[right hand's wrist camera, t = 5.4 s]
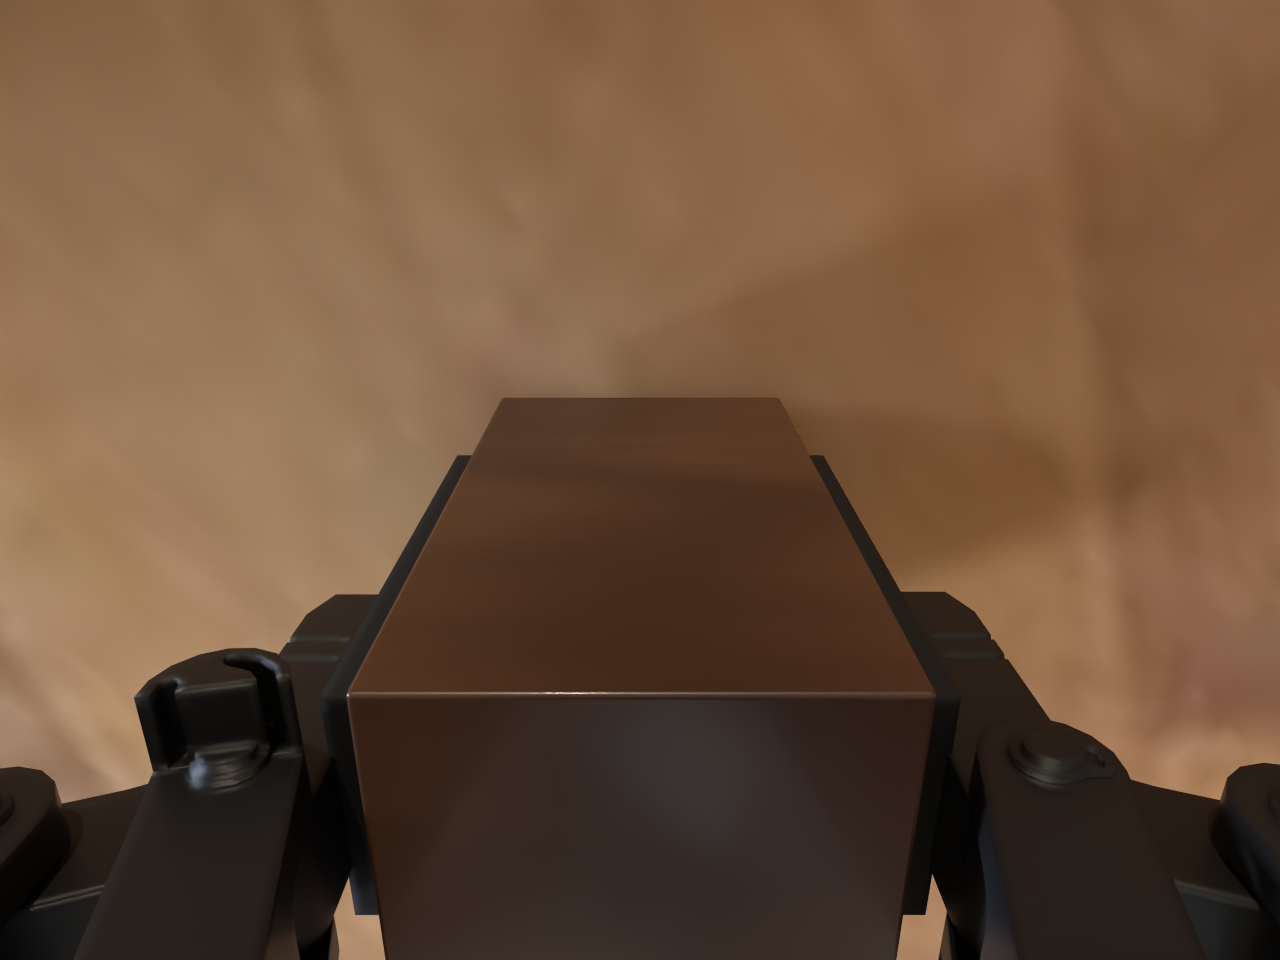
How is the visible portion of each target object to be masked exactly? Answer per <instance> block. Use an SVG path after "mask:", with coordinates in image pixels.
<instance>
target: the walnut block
mask: <svg viewBox="0 0 1280 960" xmlns="http://www.w3.org/2000/svg"><path fill="white" fill-rule="evenodd" d="M346 699H347V706H348V712H349V719H350V726H351V732H352V739H353V746H354V752H355V759H356V766H357V772H358V779H359V785H360V792H361V799H362V805H363V812H364V819H365V825H366V832H367V839H368V845H369V852H370V859H371V865H372V872H373V879H374V885H375V892H376V899H377V905H378V912H379V919H380V925H381V932H382V939H383V945H384V952H385V958H386V960H896V958H897V951H898V944H899V938H900V931H901V925H902V918H903V912H904V905H905V898H906V892H907V885H908V879H909V872H910V865H911V859H912V852H913V846H914V839H915V833H916V826H917V819H918V813H919V806H920V800H921V793H922V787H923V780H924V773H925V767H926V760H927V754H928V747H929V741H930V734H931V727H932V721H933V714H934V708H935V701H936V693H935V691H934V689H933V687H932V685H931V683H930V681H929V680H928V678H927V676H926V674H925V672H924V670H923V668H922V666H921V665H920V663H919V661H918V659H917V657H916V655H915V653H914V651H913V650H912V648H911V646H910V644H909V642H908V640H907V638H906V636H905V634H904V633H903V631H902V629H901V627H900V625H899V623H898V621H897V619H896V618H895V616H894V614H893V612H892V610H891V608H890V606H889V604H888V603H887V601H886V599H885V597H884V595H883V593H882V591H881V589H880V588H879V586H878V584H877V582H876V580H875V578H874V576H873V574H872V572H871V571H870V569H869V567H868V565H867V563H866V561H865V559H864V557H863V556H862V554H861V552H860V550H859V548H858V546H857V544H856V542H855V541H854V539H853V537H852V535H851V533H850V531H849V529H848V527H847V526H846V524H845V522H844V520H843V518H842V516H841V514H840V512H839V510H838V509H837V507H836V505H835V503H834V501H833V499H832V497H831V495H830V494H829V492H828V490H827V488H826V486H825V484H824V482H823V480H822V479H821V477H820V475H819V473H818V471H817V469H816V467H815V465H814V464H813V462H812V460H811V458H810V456H809V454H808V452H807V450H806V449H805V447H804V445H803V443H802V441H801V439H800V437H799V435H798V433H797V432H796V430H795V428H794V426H793V424H792V422H791V420H790V418H789V417H788V415H787V413H786V411H785V409H784V407H783V405H782V403H781V402H780V400H779V399H778V398H503V399H502V400H501V402H500V404H499V405H498V407H497V409H496V411H495V413H494V415H493V417H492V419H491V421H490V423H489V424H488V426H487V428H486V430H485V432H484V434H483V436H482V438H481V440H480V441H479V443H478V445H477V447H476V449H475V451H474V453H473V455H472V457H471V458H470V460H469V462H468V464H467V466H466V468H465V470H464V472H463V474H462V476H461V477H460V479H459V481H458V483H457V485H456V487H455V489H454V491H453V493H452V494H451V496H450V498H449V500H448V502H447V504H446V506H445V508H444V510H443V511H442V513H441V515H440V517H439V519H438V521H437V523H436V525H435V527H434V529H433V530H432V532H431V534H430V536H429V538H428V540H427V542H426V544H425V546H424V547H423V549H422V551H421V553H420V555H419V557H418V559H417V561H416V563H415V564H414V566H413V568H412V570H411V572H410V574H409V576H408V578H407V580H406V582H405V583H404V585H403V587H402V589H401V591H400V593H399V595H398V597H397V599H396V600H395V602H394V604H393V606H392V608H391V610H390V612H389V614H388V616H387V617H386V619H385V621H384V623H383V625H382V627H381V629H380V631H379V633H378V635H377V636H376V638H375V640H374V642H373V644H372V646H371V648H370V650H369V652H368V653H367V655H366V657H365V659H364V661H363V663H362V665H361V667H360V669H359V670H358V672H357V674H356V676H355V678H354V680H353V682H352V684H351V686H350V688H349V689H348V691H347V694H346Z"/></svg>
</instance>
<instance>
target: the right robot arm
mask: <svg viewBox="0 0 1280 960" xmlns="http://www.w3.org/2000/svg"><path fill="white" fill-rule="evenodd" d="M809 456H810V458H811V460H812V462H813V464H814V465H815V467H816V469H817V471H818V473H819V475H820V477H821V479H822V480H823V482H824V484H825V486H826V488H827V490H828V492H829V494H830V495H831V497H832V499H833V501H834V503H835V505H836V507H837V509H838V510H839V512H840V514H841V516H842V518H843V520H844V522H845V524H846V526H847V527H848V529H849V531H850V533H851V535H852V537H853V539H854V541H855V542H856V544H857V546H858V548H859V550H860V552H861V554H862V556H863V557H864V559H865V561H866V563H867V565H868V567H869V569H870V571H871V572H872V574H873V576H874V578H875V580H876V582H877V584H878V586H879V588H880V589H881V591H882V593H883V595H884V597H885V599H886V601H887V603H888V604H889V606H890V608H891V610H892V612H893V614H894V616H895V618H896V619H897V621H898V623H899V625H900V627H901V629H902V631H903V633H904V634H905V636H906V638H907V640H908V642H909V644H910V646H911V648H912V650H913V651H914V653H915V655H916V657H917V659H918V661H919V663H920V665H921V666H922V668H923V670H924V672H925V674H926V676H927V678H928V680H929V681H930V683H931V685H932V687H933V689H934V691H935V693H936V701H935V708H934V714H933V721H932V727H931V734H930V741H929V747H928V754H927V760H926V767H925V773H924V780H923V787H922V793H921V800H920V806H919V813H918V819H917V826H916V833H915V839H914V846H913V852H912V859H911V865H910V872H909V879H908V885H907V892H906V898H905V905H904V912H903V915H925V914H926V908H927V902H928V896H929V890H930V884H931V878H932V874H933V877H934V879H935V882H936V884H937V887H938V889H939V892H940V894H941V897H942V899H943V902H944V904H945V907H946V909H947V914H946V920H945V925H944V931H943V936H942V942H941V948H940V953H939V959H938V960H1280V765H1278V764H1269V763H1260V764H1254V765H1248V766H1242V767H1239V768H1238V769H1237V770H1236V771H1235V772H1234V773H1232V774H1231V775H1230V776H1229V777H1228V778H1227V781H1226V784H1225V787H1224V790H1223V793H1222V796H1221V799H1220V800H1216V799H1211V798H1207V797H1202V796H1197V795H1193V794H1188V793H1183V792H1179V791H1174V790H1169V789H1164V788H1160V787H1155V786H1152V785H1148V784H1144V783H1141V782H1137V781H1134V780H1131V779H1130V777H1129V775H1128V772H1127V770H1126V769H1125V768H1124V766H1123V765H1122V764H1121V762H1120V761H1119V759H1118V758H1117V757H1116V755H1115V754H1114V752H1112V751H1111V750H1110V749H1108V748H1107V747H1106V746H1104V745H1103V744H1102V743H1100V742H1099V741H1098V740H1096V739H1095V738H1094V737H1092V736H1090V735H1088V734H1086V733H1084V732H1082V731H1079V730H1077V729H1075V728H1073V727H1070V726H1068V725H1066V724H1063V723H1059V722H1054V721H1051V720H1050V719H1049V717H1048V716H1047V715H1046V713H1045V712H1044V710H1043V709H1042V707H1041V706H1040V705H1039V703H1038V702H1037V700H1036V699H1035V697H1034V696H1033V695H1032V693H1031V692H1030V690H1029V689H1028V687H1027V686H1026V685H1025V683H1024V682H1023V680H1022V679H1021V677H1020V676H1019V675H1018V673H1017V672H1016V670H1015V669H1014V667H1013V666H1012V665H1011V663H1010V662H1009V660H1008V659H1005V658H1004V653H1003V652H1002V650H1001V649H1000V647H999V646H998V645H997V643H996V642H995V640H991V635H990V633H989V632H988V630H987V629H986V627H985V626H984V625H983V623H982V622H981V620H980V619H979V617H978V616H977V615H976V613H975V612H974V611H973V610H971V609H970V608H968V607H967V606H965V605H964V604H962V603H961V602H959V601H958V600H956V599H955V598H953V597H952V596H950V595H949V594H947V593H946V592H901V591H900V590H899V588H898V586H897V584H896V583H895V581H894V579H893V577H892V576H891V574H890V572H889V570H888V569H887V567H886V565H885V563H884V562H883V560H882V558H881V556H880V555H879V553H878V551H877V549H876V548H875V546H874V544H873V542H872V541H871V539H870V537H869V535H868V533H867V532H866V530H865V528H864V526H863V525H862V523H861V521H860V519H859V518H858V516H857V514H856V512H855V511H854V509H853V507H852V505H851V504H850V502H849V500H848V498H847V497H846V495H845V493H844V491H843V490H842V488H841V486H840V484H839V483H838V481H837V479H836V477H835V476H834V474H833V472H832V470H831V468H830V467H829V465H828V463H827V461H826V460H825V458H824V456H823V455H809ZM471 457H472V455H457V457H456V459H455V461H454V463H453V464H452V466H451V468H450V470H449V471H448V473H447V475H446V477H445V478H444V480H443V482H442V484H441V485H440V487H439V489H438V491H437V492H436V494H435V496H434V498H433V499H432V501H431V503H430V505H429V506H428V508H427V510H426V512H425V513H424V515H423V517H422V519H421V521H420V522H419V524H418V526H417V528H416V529H415V531H414V533H413V535H412V536H411V538H410V540H409V542H408V543H407V545H406V547H405V549H404V550H403V552H402V554H401V556H400V557H399V559H398V561H397V563H396V564H395V566H394V568H393V570H392V571H391V573H390V575H389V577H388V579H387V580H386V582H385V584H384V586H383V587H382V589H381V591H380V593H379V594H378V595H335V596H333V597H332V598H330V599H329V600H327V601H326V602H324V603H323V604H321V605H320V606H318V607H317V608H316V609H314V610H313V611H311V612H310V613H308V614H307V615H306V616H305V618H304V619H303V620H302V622H301V623H300V625H299V626H298V628H297V629H296V631H295V632H294V633H293V635H292V636H291V638H290V643H286V645H285V646H284V648H283V649H282V651H281V652H280V654H279V655H278V654H277V653H273V652H269V651H265V650H261V649H257V648H232V649H224V650H219V651H215V652H210V653H205V654H200V655H197V656H195V657H192V658H190V659H187V660H185V661H182V662H180V663H177V664H175V665H172V666H170V667H169V668H167V669H166V670H164V671H163V672H161V673H159V674H158V675H156V676H155V677H153V678H152V679H150V680H149V681H148V682H147V683H146V684H145V685H144V686H143V688H142V689H141V690H140V691H139V692H138V694H137V695H136V696H135V697H134V700H135V703H136V707H137V711H138V715H139V719H140V723H141V726H142V730H143V734H144V738H145V742H146V745H147V749H148V753H149V757H150V761H151V765H152V768H153V774H152V776H151V779H150V781H149V783H148V784H146V785H142V786H139V787H135V788H132V789H128V790H124V791H119V792H115V793H110V794H105V795H101V796H96V797H91V798H87V799H82V800H77V801H73V802H68V803H63V804H62V803H61V800H60V797H59V794H58V791H57V788H56V784H55V781H54V780H52V779H51V778H50V777H49V776H48V775H46V774H45V773H44V772H43V771H42V770H36V769H30V768H24V767H10V768H1V769H0V960H338V958H339V945H338V938H337V931H336V925H335V920H334V913H335V910H336V908H337V905H338V903H339V900H340V898H341V895H342V893H343V890H344V888H345V885H346V882H347V880H348V877H349V880H350V886H351V892H352V898H353V904H354V910H355V915H379V912H378V905H377V899H376V892H375V885H374V879H373V872H372V865H371V859H370V852H369V845H368V839H367V832H366V825H365V819H364V812H363V805H362V799H361V792H360V785H359V779H358V772H357V766H356V759H355V752H354V746H353V739H352V732H351V726H350V719H349V712H348V706H347V699H346V694H347V691H348V689H349V688H350V686H351V684H352V682H353V680H354V678H355V676H356V674H357V672H358V670H359V669H360V667H361V665H362V663H363V661H364V659H365V657H366V655H367V653H368V652H369V650H370V648H371V646H372V644H373V642H374V640H375V638H376V636H377V635H378V633H379V631H380V629H381V627H382V625H383V623H384V621H385V619H386V617H387V616H388V614H389V612H390V610H391V608H392V606H393V604H394V602H395V600H396V599H397V597H398V595H399V593H400V591H401V589H402V587H403V585H404V583H405V582H406V580H407V578H408V576H409V574H410V572H411V570H412V568H413V566H414V564H415V563H416V561H417V559H418V557H419V555H420V553H421V551H422V549H423V547H424V546H425V544H426V542H427V540H428V538H429V536H430V534H431V532H432V530H433V529H434V527H435V525H436V523H437V521H438V519H439V517H440V515H441V513H442V511H443V510H444V508H445V506H446V504H447V502H448V500H449V498H450V496H451V494H452V493H453V491H454V489H455V487H456V485H457V483H458V481H459V479H460V477H461V476H462V474H463V472H464V470H465V468H466V466H467V464H468V462H469V460H470V458H471Z"/></svg>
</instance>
